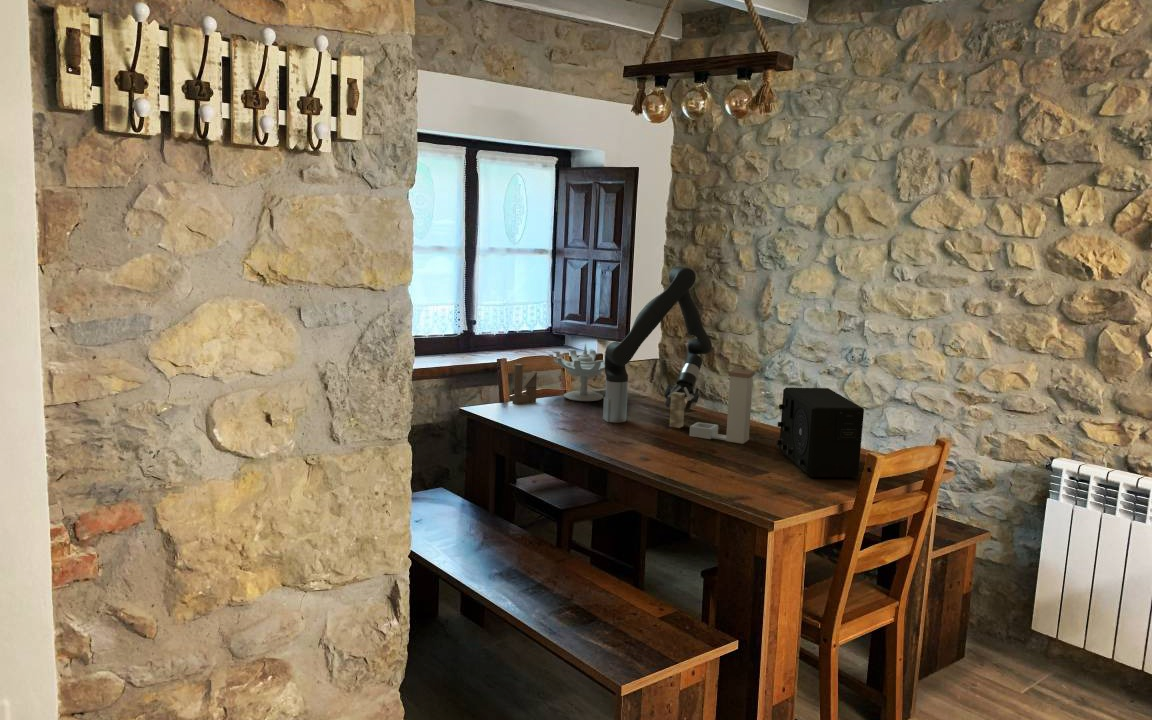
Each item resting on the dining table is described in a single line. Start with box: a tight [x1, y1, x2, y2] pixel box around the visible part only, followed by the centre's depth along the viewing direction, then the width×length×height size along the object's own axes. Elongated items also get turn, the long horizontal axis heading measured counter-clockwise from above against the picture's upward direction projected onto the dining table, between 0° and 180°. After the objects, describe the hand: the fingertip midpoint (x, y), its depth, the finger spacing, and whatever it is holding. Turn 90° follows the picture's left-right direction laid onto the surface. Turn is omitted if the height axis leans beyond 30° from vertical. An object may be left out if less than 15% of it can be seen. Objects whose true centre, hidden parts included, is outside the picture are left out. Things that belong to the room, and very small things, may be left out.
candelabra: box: [547, 341, 605, 402], centre depth 417 cm, size 34×35×27 cm
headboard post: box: [689, 368, 756, 445], centre depth 351 cm, size 22×9×28 cm, turn 62°
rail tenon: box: [669, 392, 686, 429], centre depth 369 cm, size 4×4×14 cm
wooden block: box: [512, 363, 538, 405], centre depth 404 cm, size 4×11×18 cm, turn 126°
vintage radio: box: [775, 387, 865, 479], centre depth 317 cm, size 38×20×25 cm, turn 4°
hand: (676, 407), depth 368 cm, fingers open, 8 cm apart
